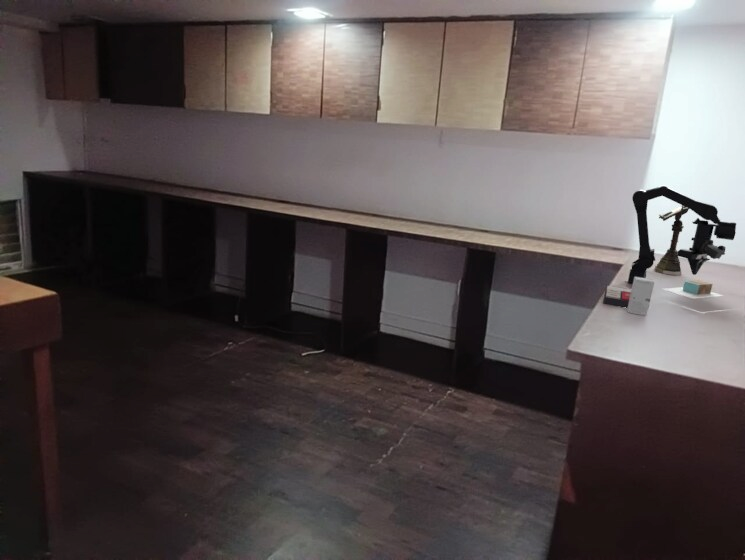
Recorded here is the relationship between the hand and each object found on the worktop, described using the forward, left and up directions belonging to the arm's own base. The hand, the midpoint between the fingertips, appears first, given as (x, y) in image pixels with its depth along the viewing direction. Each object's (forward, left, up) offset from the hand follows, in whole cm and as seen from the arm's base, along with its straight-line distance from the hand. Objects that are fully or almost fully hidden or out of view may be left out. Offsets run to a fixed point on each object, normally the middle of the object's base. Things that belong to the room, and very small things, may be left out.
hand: (694, 274), depth 228 cm
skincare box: (-48, -14, -8) cm, 51 cm away
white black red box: (-43, -2, -9) cm, 44 cm away
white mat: (+2, 0, -8) cm, 8 cm away
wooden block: (0, 0, -6) cm, 6 cm away
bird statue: (+26, +32, -8) cm, 42 cm away
